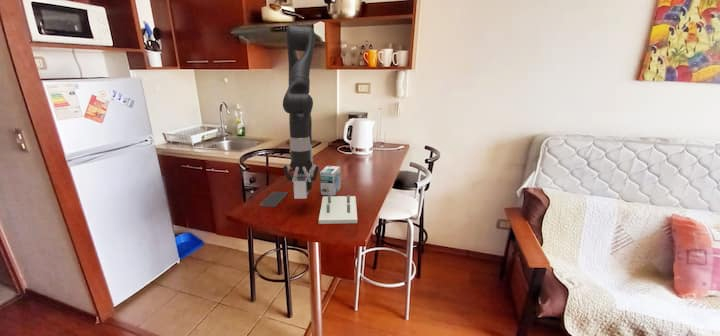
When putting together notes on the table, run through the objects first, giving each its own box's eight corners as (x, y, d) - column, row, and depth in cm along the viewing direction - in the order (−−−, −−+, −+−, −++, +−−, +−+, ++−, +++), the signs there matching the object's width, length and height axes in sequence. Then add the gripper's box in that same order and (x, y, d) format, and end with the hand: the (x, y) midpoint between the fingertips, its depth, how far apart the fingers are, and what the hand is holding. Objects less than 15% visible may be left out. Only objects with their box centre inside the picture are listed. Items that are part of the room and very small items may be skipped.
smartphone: (257, 205, 124) (273, 191, 138) (258, 207, 124) (273, 193, 138) (275, 206, 123) (288, 192, 137) (275, 208, 123) (288, 194, 137)
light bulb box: (334, 196, 135) (334, 173, 131) (320, 194, 136) (319, 172, 133) (341, 187, 145) (340, 166, 141) (327, 186, 146) (326, 165, 143)
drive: (299, 186, 125) (298, 170, 123) (310, 186, 126) (309, 170, 123) (294, 198, 114) (293, 181, 112) (306, 198, 114) (305, 181, 112)
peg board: (322, 199, 131) (322, 190, 129) (355, 199, 131) (355, 189, 130) (318, 223, 110) (318, 212, 108) (357, 223, 110) (357, 212, 109)
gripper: (320, 145, 118) (321, 186, 123) (283, 145, 117) (286, 186, 123) (318, 150, 111) (320, 193, 116) (279, 150, 110) (282, 194, 116)
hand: (302, 190), depth 119 cm, fingers closed on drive, 4 cm apart
